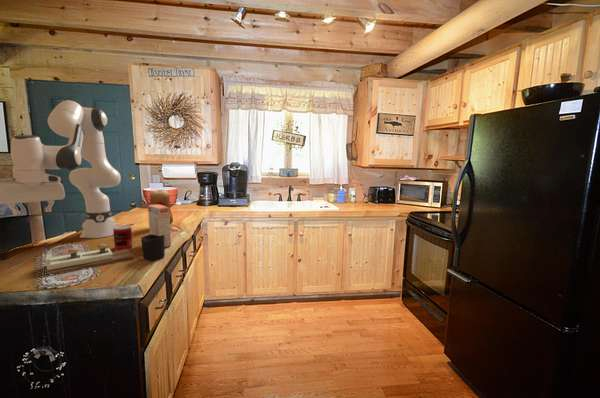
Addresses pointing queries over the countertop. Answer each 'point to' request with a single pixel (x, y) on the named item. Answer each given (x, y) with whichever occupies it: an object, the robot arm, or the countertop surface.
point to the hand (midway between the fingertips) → (33, 213)
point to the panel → (77, 259)
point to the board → (117, 257)
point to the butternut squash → (161, 200)
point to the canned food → (122, 237)
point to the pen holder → (153, 247)
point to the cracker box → (160, 222)
